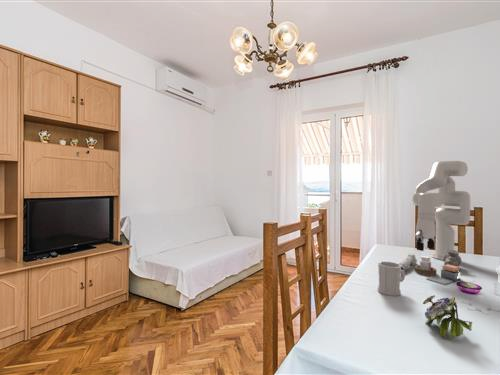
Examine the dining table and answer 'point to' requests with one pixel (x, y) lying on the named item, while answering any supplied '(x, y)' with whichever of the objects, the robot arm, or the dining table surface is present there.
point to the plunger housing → (449, 275)
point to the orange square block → (450, 268)
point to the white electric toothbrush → (408, 261)
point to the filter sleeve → (425, 271)
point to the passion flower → (446, 308)
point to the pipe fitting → (452, 258)
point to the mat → (440, 280)
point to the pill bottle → (425, 263)
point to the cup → (390, 278)
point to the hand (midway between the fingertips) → (425, 249)
